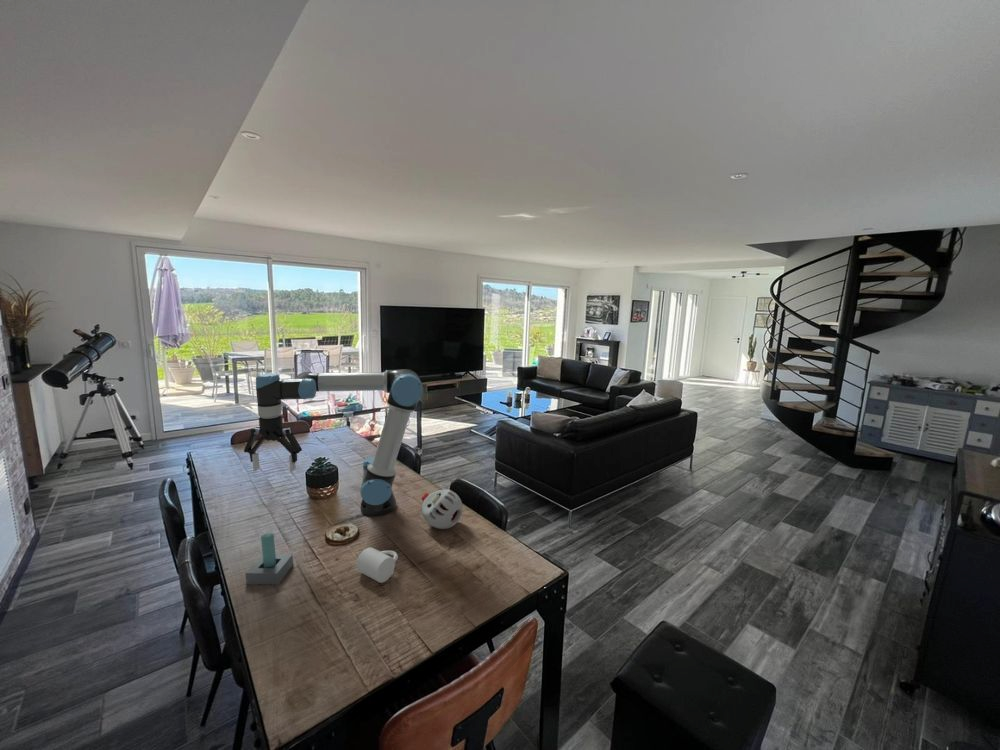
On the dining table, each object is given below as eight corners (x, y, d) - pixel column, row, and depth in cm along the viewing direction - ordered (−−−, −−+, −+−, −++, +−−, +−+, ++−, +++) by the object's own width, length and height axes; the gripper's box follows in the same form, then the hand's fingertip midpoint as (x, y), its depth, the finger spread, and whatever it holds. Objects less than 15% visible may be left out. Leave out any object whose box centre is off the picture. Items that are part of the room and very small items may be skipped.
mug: (377, 588, 129) (376, 565, 127) (356, 576, 134) (355, 554, 132) (404, 567, 139) (403, 546, 137) (384, 557, 144) (383, 537, 142)
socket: (293, 564, 139) (292, 554, 138) (277, 584, 129) (276, 573, 128) (264, 564, 139) (263, 553, 138) (246, 584, 129) (245, 573, 128)
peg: (279, 570, 135) (275, 532, 133) (273, 577, 132) (269, 539, 129) (268, 570, 135) (264, 532, 133) (262, 577, 132) (258, 539, 129)
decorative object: (436, 509, 178) (436, 478, 175) (469, 523, 167) (469, 490, 164) (410, 524, 165) (409, 490, 162) (443, 541, 154) (443, 505, 152)
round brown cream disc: (323, 529, 162) (323, 519, 161) (362, 524, 166) (362, 514, 165) (318, 550, 148) (318, 540, 147) (361, 544, 152) (361, 534, 151)
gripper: (309, 413, 152) (312, 466, 155) (242, 412, 151) (247, 465, 155) (299, 419, 144) (303, 474, 148) (229, 417, 144) (235, 473, 147)
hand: (274, 470), depth 151 cm, fingers open, 13 cm apart
